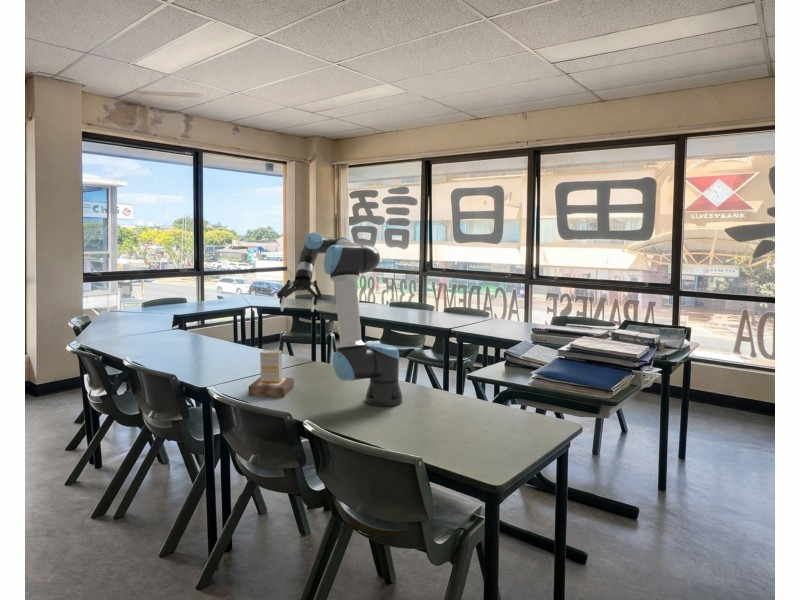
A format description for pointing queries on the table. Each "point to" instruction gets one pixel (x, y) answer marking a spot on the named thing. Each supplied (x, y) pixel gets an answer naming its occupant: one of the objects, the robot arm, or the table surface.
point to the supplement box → (271, 366)
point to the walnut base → (271, 388)
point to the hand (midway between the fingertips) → (296, 309)
